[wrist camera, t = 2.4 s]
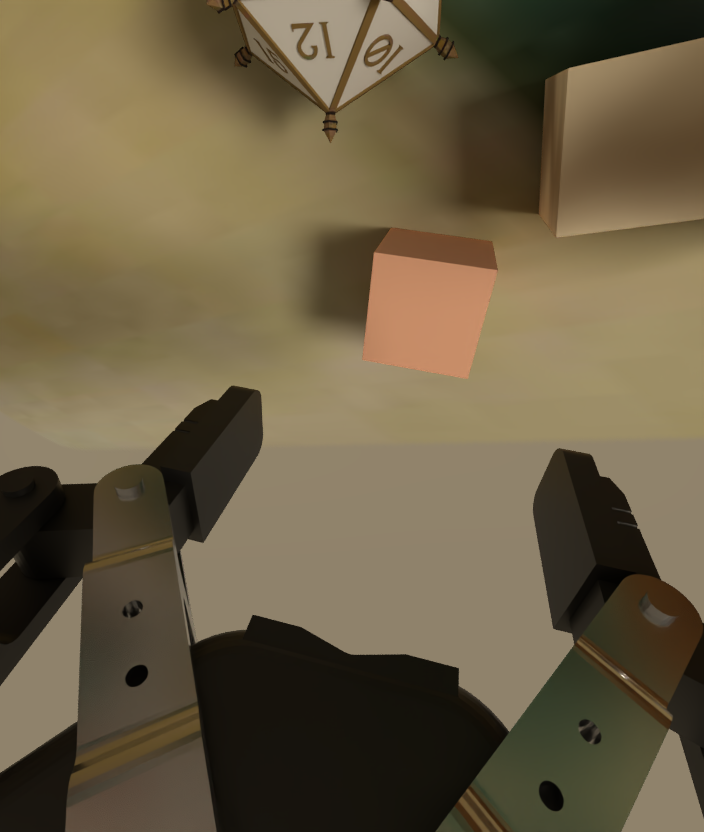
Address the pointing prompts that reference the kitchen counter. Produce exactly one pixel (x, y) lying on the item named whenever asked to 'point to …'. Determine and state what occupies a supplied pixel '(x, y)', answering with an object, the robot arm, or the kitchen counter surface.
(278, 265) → the kitchen counter surface
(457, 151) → the kitchen counter surface
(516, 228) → the kitchen counter surface
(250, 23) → the game die
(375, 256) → the terracotta block
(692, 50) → the birch block
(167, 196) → the kitchen counter surface
